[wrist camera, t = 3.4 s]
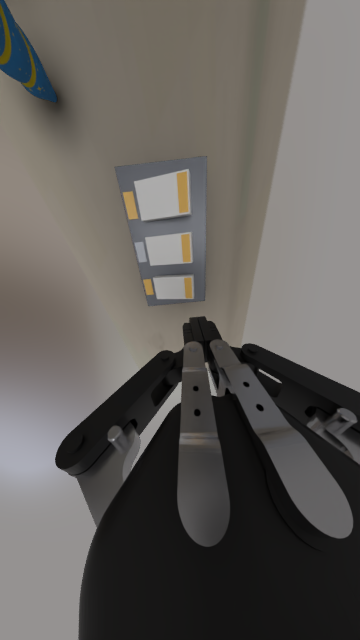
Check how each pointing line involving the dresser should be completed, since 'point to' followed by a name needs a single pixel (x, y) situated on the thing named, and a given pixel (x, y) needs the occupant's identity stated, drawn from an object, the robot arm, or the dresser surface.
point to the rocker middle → (170, 249)
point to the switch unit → (167, 224)
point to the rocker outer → (174, 286)
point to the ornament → (22, 58)
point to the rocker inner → (164, 196)
